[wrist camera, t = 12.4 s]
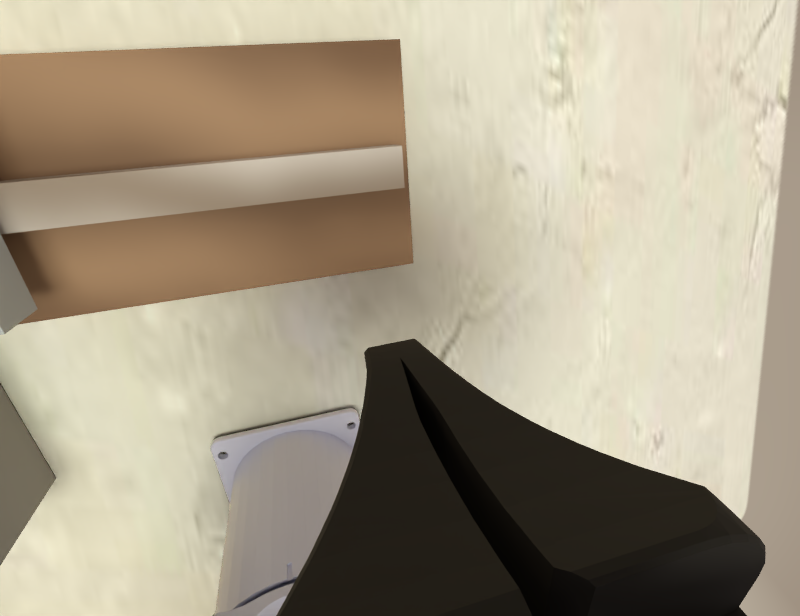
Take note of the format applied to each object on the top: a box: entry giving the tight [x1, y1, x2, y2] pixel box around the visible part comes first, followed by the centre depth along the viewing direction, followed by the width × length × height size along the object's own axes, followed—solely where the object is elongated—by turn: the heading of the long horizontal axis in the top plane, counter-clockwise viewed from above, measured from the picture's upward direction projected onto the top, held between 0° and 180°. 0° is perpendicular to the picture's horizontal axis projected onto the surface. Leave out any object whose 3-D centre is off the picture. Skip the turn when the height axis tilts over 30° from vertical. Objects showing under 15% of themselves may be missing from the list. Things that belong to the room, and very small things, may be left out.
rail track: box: [0, 39, 413, 324], centre depth 15 cm, size 9×25×3 cm, turn 94°
